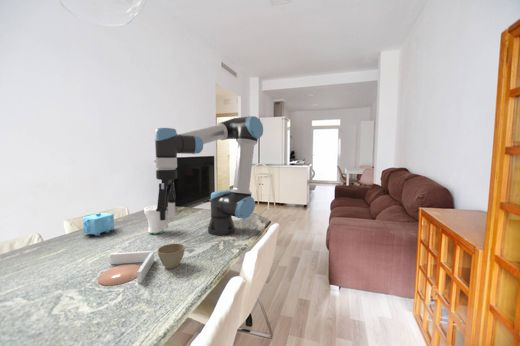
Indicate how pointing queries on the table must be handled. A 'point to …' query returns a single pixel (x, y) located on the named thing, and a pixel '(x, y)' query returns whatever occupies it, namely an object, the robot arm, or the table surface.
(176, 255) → the flower pot
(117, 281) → the coaster
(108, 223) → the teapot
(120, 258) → the acrylic walls
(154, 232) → the cup
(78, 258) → the table surface
